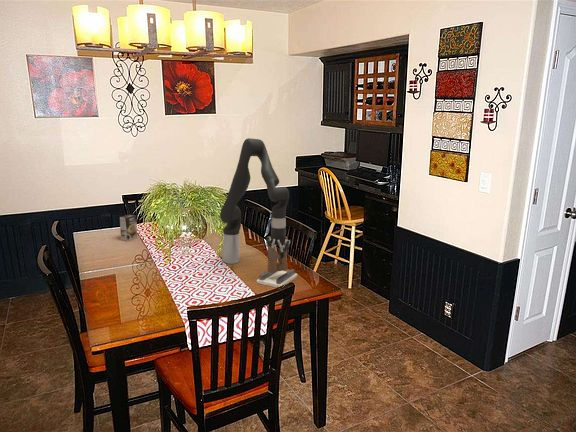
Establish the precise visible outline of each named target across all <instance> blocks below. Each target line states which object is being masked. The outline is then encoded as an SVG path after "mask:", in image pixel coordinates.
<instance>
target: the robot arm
mask: <svg viewBox="0 0 576 432" xmlns="http://www.w3.org/2000/svg"><path fill="white" fill-rule="evenodd" d="M252 157H257V159H259V161H260V164H261V167H260V174H261V177H262V179H263V181H264V183H265V185H266V190H267V195H268V197H269V198H268V199H270V201H271V202H278V203H277V204H276V205H273V206H272V208H271V219H270V220H271V221H270V225H271V226H270V234H271V235H270V236H267V237H265V240H266V244H267V247H268V246H270V247H272V248H273V249H274V250H275V251H276V247H277V246H278V247H279V250H280V249H281V259H283V258H284V257H285V251H287V252H288V251H289V248H290V247H291V242H292V241H291V239H288V238H287V239H286V237H287V236H286V234H287V230H286V229H287V228H286V227H287V221H286V220H287V219H286V217H287V216H286V215H287V214H286V213H287V212H286V211H287V208H288V207H287V206H288V203H289V200H290V191H289V189H288V188H287V187H286V186H281V187H280V186H279V187H277V186H278V185H279V184H280V179H279V176H278V174H277V173H276V171H275V170H274V167H273V165H272V162H271V160H270V156H269V153H268V150H267V148H266V145H265V143H264V141H263V140H262V139H260V138H251V137H250V138H246V139H245V140H243V143H242V145H241V150H240V154H239V158H238V162H237V166H236V170H235V172H234V175H233V177H232V181H231V184H230V188H229V190H228V192H227V196H226V198H225V201H224V203H223V205H222V207H221V208H220V209H221V210H220V214H219V217H220V220H221V221H222V223H225V224H226V225H225V226H224V227H223V230H222V232H223V237H222V238H223V245H222V246H221V260H222V262H224V264H230V265H231V264H232V265H233V264H234V265H235V264H237V263H239V262H240V230H241V227H242V210H241V209H240V207H239V206H238V205H237V204H238V202H240V200H241V199H242V197H243V196H244V195H246V192H247V190H248V189H249V186H250V182H251V173H250V169H249V162H250V159H251V158H252ZM285 236H286V237H285ZM284 242H285V243H286V246H285V245H284Z"/></svg>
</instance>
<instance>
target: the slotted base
mask: <svg viewBox="0 0 576 432" xmlns="http://www.w3.org/2000/svg"><path fill="white" fill-rule="evenodd" d="M296 278H298V273H296V270H295V269H293V268H292V269H289V270H288V271H286V270H282V271H277V272H275V273H270V272H268V269H267V270H266V271H264V272H262V273H261V274H259V278H258V279H256V283H257V284H260V285H265V286H269V287H272V288H273V287H274V288H277V287H280V286H282V285H284V284H286V285H288V284H289V283H291V282H292V281H293V280H295V279H296ZM284 286H285V285H284Z"/></svg>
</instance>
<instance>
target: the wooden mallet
mask: <svg viewBox="0 0 576 432" xmlns="http://www.w3.org/2000/svg"><path fill="white" fill-rule="evenodd" d="M285 237H286V239H287V240H288V236H286V235H285ZM284 245H285V246H286V243H285V242H284ZM287 254H288V250H287V251H285V257H284V258H283V259H281V249H280V248H279V253H278V252H277V250H276V249H275V250H274V249H273V248H272V247H270V246H267V270H268V272H270V273H275V272H277V271H286V270H288V262H287V257H288V255H287ZM278 260H279V262H278Z"/></svg>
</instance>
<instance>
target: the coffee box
mask: <svg viewBox="0 0 576 432" xmlns="http://www.w3.org/2000/svg"><path fill="white" fill-rule="evenodd" d="M137 221H138V220H137V215H135V214H126V215H123V216H119V226H120V240H121V241H124V242H129V241H133V240H136V239H138V225H137V224H138V223H137Z"/></svg>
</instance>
